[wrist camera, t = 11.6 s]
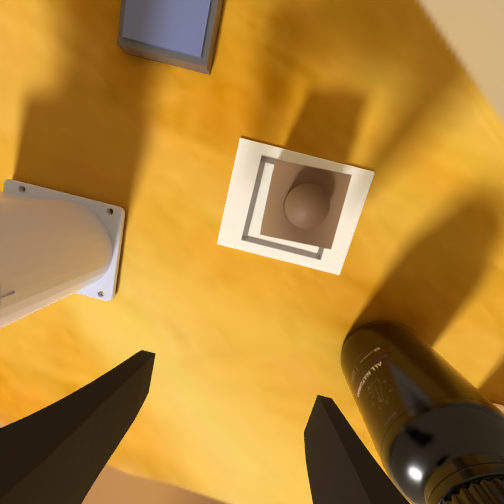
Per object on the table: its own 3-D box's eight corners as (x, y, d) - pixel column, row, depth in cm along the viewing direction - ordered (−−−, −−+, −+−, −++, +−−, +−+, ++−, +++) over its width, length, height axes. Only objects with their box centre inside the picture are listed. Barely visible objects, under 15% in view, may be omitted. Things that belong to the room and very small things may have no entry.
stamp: (261, 225, 18) (259, 237, 12) (272, 171, 17) (276, 155, 11) (312, 235, 18) (336, 253, 12) (326, 182, 17) (359, 172, 11)
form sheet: (217, 243, 19) (216, 244, 19) (240, 138, 17) (239, 137, 17) (338, 274, 19) (339, 275, 19) (374, 172, 17) (375, 172, 17)
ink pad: (126, 53, 16) (115, 42, 15) (137, -53, 15) (127, -74, 14) (209, 74, 16) (205, 64, 15) (228, -30, 15) (225, -49, 14)
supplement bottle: (333, 324, 20) (430, 501, 8) (418, 312, 19) (655, 485, 8) (342, 394, 21) (437, 630, 10) (422, 384, 21) (628, 626, 9)
